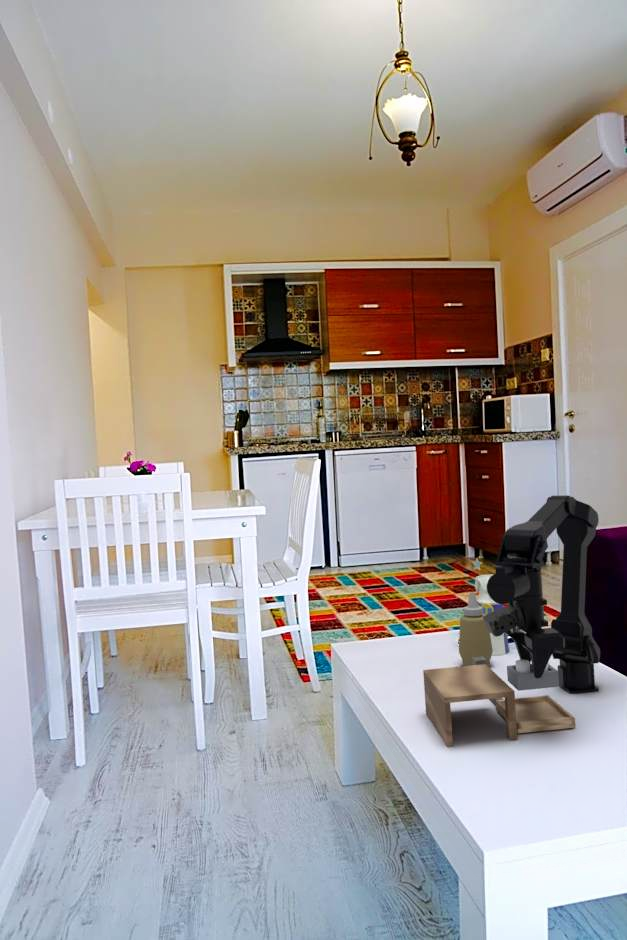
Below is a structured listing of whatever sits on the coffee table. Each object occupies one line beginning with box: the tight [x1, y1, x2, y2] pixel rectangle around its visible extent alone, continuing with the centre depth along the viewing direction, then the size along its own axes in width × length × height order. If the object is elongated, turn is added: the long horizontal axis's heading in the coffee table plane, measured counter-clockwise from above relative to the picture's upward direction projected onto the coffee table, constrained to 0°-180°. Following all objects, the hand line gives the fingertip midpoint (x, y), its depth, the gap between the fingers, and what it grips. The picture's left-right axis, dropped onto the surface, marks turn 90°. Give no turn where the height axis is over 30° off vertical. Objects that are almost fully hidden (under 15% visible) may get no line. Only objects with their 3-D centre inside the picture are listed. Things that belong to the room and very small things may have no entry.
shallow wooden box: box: [472, 657, 576, 734], centre depth 141 cm, size 11×27×6 cm, turn 5°
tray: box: [506, 659, 560, 691], centre depth 133 cm, size 8×6×4 cm
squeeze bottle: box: [458, 591, 493, 667], centre depth 167 cm, size 8×8×18 cm
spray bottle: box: [471, 557, 510, 657], centre depth 177 cm, size 8×9×25 cm
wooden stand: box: [422, 664, 518, 748], centre depth 132 cm, size 13×16×9 cm
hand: (531, 672), depth 133 cm, fingers closed on tray, 6 cm apart
